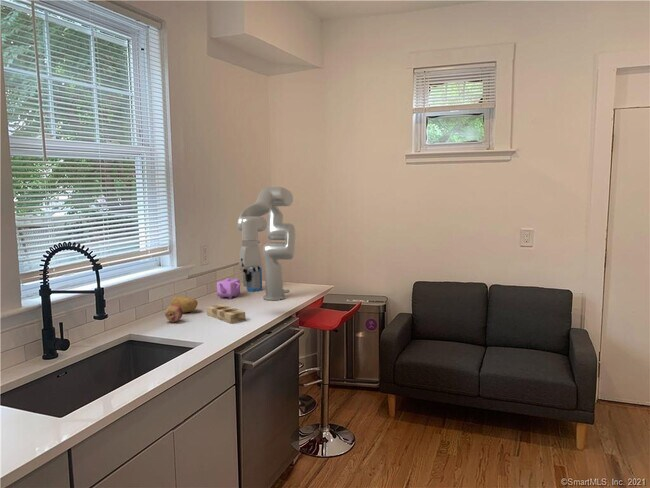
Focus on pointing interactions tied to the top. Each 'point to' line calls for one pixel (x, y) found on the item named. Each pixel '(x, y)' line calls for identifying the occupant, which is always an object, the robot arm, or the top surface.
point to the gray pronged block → (252, 279)
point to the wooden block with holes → (226, 313)
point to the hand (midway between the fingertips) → (251, 280)
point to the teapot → (228, 288)
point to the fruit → (173, 313)
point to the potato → (185, 303)
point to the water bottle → (260, 282)
